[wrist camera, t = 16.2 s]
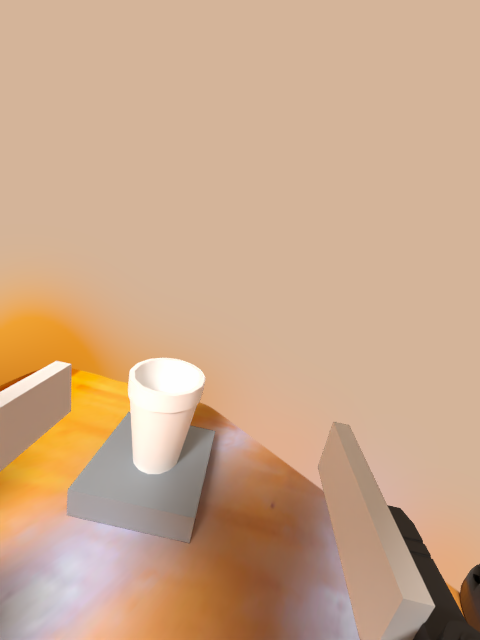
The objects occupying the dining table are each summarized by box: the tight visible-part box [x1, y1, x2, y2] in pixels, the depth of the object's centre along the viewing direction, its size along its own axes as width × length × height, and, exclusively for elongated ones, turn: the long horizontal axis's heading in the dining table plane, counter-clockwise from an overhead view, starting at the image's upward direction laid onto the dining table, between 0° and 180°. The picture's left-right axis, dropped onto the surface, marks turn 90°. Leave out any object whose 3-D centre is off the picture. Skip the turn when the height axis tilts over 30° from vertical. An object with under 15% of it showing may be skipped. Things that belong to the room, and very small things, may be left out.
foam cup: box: [128, 358, 205, 474], centre depth 36 cm, size 10×9×13 cm
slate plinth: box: [67, 412, 215, 543], centre depth 38 cm, size 15×15×4 cm
